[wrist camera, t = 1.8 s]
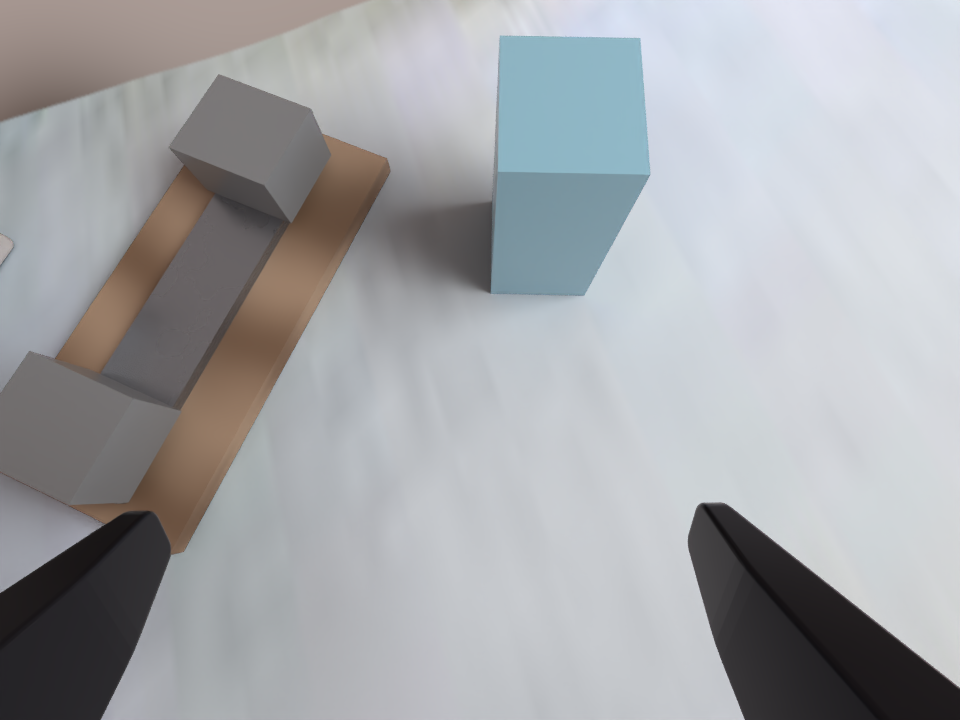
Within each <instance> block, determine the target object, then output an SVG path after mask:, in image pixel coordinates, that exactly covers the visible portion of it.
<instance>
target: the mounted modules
mask: <svg viewBox="0 0 960 720" xmlns="http://www.w3.org/2000/svg"><path fill="white" fill-rule="evenodd" d="M169 148H170V149H171V151H172V152H173V153H174V154H175V155H176V156H177V157H178V158H179V159H180V160H181V162H182V163H183V164H184V165H185V166H186V167H187V168H188V169H189V170H190V171H191V173H192V174H193V175H194V176H195V177H196V178H197V179H198V180H199V181H200V182H201V184H202V185H203V186H204V187H205V188H206V189H207V190H209V191H211V192H214V193H216V194H219V195H221V196H224V197H226V198H229V199H231V200H234V201H236V202H239V203H241V204H244V205H246V206H249V207H251V208H254V209H256V210H259V211H261V212H264V213H266V214H269V215H271V216H273V217H276V218H278V219H281V220H283V221H286V222H288V223H292V222H293V220H294V218H295V217H296V215H297V213H298V211H299V210H300V208H301V206H302V205H303V203H304V201H305V199H306V198H307V196H308V194H309V193H310V191H311V189H312V188H313V186H314V184H315V182H316V181H317V179H318V177H319V176H320V174H321V172H322V170H323V169H324V167H325V165H326V164H327V162H328V160H329V158H330V157H331V153H330V151H329V149H328V146H327V144H326V142H325V139H324V137H323V135H322V133H321V130H320V128H319V126H318V124H317V121H316V119H315V117H314V115H313V112H312V110H311V109H310V108H307V107H305V106H302V105H299V104H297V103H294V102H291V101H289V100H286V99H283V98H281V97H278V96H275V95H273V94H270V93H267V92H265V91H262V90H259V89H257V88H254V87H251V86H249V85H246V84H243V83H241V82H238V81H235V80H233V79H230V78H227V77H225V76H222V75H219V74H218V76H217V77H216V79H215V80H214V82H213V83H212V85H211V86H210V87H209V89H208V90H207V92H206V93H205V95H204V96H203V98H202V99H201V101H200V102H199V104H198V105H197V106H196V108H195V109H194V111H193V112H192V114H191V115H190V117H189V118H188V120H187V121H186V123H185V124H184V126H183V127H182V128H181V130H180V131H179V133H178V134H177V136H176V137H175V139H174V140H173V142H172V143H171V145H170V146H169ZM181 412H182V411H180V410H178V409H176V408H174V407H172V406H169V405H167V404H165V403H163V402H161V401H159V400H156V399H154V398H152V397H150V396H148V395H145V394H143V393H141V392H139V391H137V390H134V389H132V388H130V387H128V386H126V385H123V384H121V383H119V382H117V381H115V380H112V379H110V378H108V377H106V376H104V375H101V374H99V373H97V372H95V371H93V370H90V369H87V368H83V367H80V366H77V365H74V364H70V363H67V362H64V361H60V360H57V359H54V358H51V357H47V356H44V355H41V354H37V353H34V352H31V351H29V353H28V354H27V355H26V357H25V358H24V360H23V361H22V363H21V364H20V366H19V367H18V369H17V370H16V372H15V373H14V374H13V376H12V377H11V379H10V380H9V382H8V383H7V385H6V386H5V388H4V389H3V391H2V392H1V394H0V472H2V473H4V474H6V475H8V476H10V477H12V478H14V479H16V480H18V481H20V482H22V483H24V484H26V485H28V486H30V487H32V488H34V489H36V490H38V491H41V492H43V493H45V494H47V495H49V496H51V497H53V498H55V499H57V500H59V501H61V502H63V503H65V504H67V505H82V504H106V503H129V501H130V499H131V498H132V496H133V494H134V492H135V491H136V489H137V487H138V486H139V484H140V482H141V480H142V479H143V477H144V475H145V474H146V472H147V470H148V468H149V467H150V465H151V463H152V462H153V460H154V458H155V456H156V455H157V453H158V451H159V450H160V448H161V446H162V444H163V443H164V441H165V439H166V438H167V436H168V434H169V432H170V431H171V429H172V427H173V426H174V424H175V422H176V420H177V419H178V417H179V415H180V414H181Z"/></svg>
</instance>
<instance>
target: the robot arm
mask: <svg viewBox="0 0 960 720" xmlns="http://www.w3.org/2000/svg"><path fill="white" fill-rule="evenodd" d="M688 548H689V553H690V556H691V560H692V563H693V567H694V571H695V574H696V578H697V581H698V585H699V588H700V592H701V596H702V599H703V603H704V606H705V610H706V614H707V617H708V621H709V624H710V628H711V631H712V634H713V638H714V641H715V644H716V647H717V649H718V652H719V655H720V658H721V660H722V663H723V665H724V668H725V671H726V673H727V676H728V678H729V681H730V683H731V686H732V688H733V691H734V693H735V696H736V698H737V701H738V704H739V706H740V709H741V711H742V714H743V716H744V719H745V720H960V688H959V687H958V686H957V685H956V684H954V683H953V682H952V681H951V680H949V679H948V678H947V677H945V676H944V675H943V674H942V673H940V672H939V671H938V670H937V669H935V668H934V667H933V666H932V665H930V664H929V663H928V662H926V661H925V660H924V659H923V658H921V657H920V656H919V655H918V654H916V653H915V652H914V651H913V650H911V649H910V648H909V647H907V646H906V645H905V644H904V643H902V642H901V641H900V640H899V639H897V638H896V637H895V636H894V635H892V634H891V633H890V632H888V631H887V630H886V629H885V628H883V627H882V626H881V625H880V624H878V623H877V622H876V621H875V620H873V619H872V618H871V617H869V616H868V615H867V614H866V613H864V612H863V611H862V610H861V609H859V608H858V607H857V606H856V605H854V604H853V603H852V602H850V601H849V600H848V599H847V598H845V597H844V596H843V595H842V594H840V593H839V592H838V591H837V590H835V589H834V588H833V587H831V586H830V585H829V584H828V583H826V582H825V581H824V580H823V579H821V578H820V577H819V576H818V575H816V574H815V573H814V572H812V571H811V570H810V569H809V568H807V567H806V566H805V565H804V564H802V563H801V562H800V561H799V560H797V559H796V558H795V557H793V556H792V555H791V554H790V553H788V552H787V551H786V550H785V549H783V548H782V547H781V546H780V545H778V544H777V543H776V542H774V541H773V540H772V539H771V538H769V537H768V536H767V535H766V534H764V533H763V532H762V531H761V530H759V529H758V528H757V527H755V526H754V525H753V524H752V523H750V522H749V521H748V520H747V519H745V518H744V517H743V516H742V515H740V514H739V513H738V512H736V511H735V510H734V509H733V508H731V507H730V506H729V505H727V504H725V503H700V504H699V505H698V506H697V508H696V511H695V514H694V518H693V521H692V525H691V528H690V531H689V535H688ZM170 555H171V543H170V541H169V539H168V536H167V534H166V532H165V530H164V528H163V526H162V524H161V522H160V520H159V518H158V516H157V514H156V513H154V512H153V511H127V512H124V513H122V514H121V515H119V516H117V517H116V518H114V519H113V520H111V521H110V522H108V523H107V524H105V525H104V526H102V527H101V528H99V529H98V530H96V531H94V532H93V533H91V534H90V535H88V536H87V537H85V538H84V539H82V540H81V541H79V542H78V543H76V544H75V545H73V546H72V547H70V548H69V549H67V550H65V551H64V552H62V553H61V554H59V555H58V556H56V557H55V558H53V559H52V560H50V561H49V562H47V563H46V564H44V565H43V566H41V567H39V568H38V569H36V570H35V571H33V572H32V573H30V574H29V575H27V576H26V577H24V578H23V579H21V580H20V581H18V582H17V583H15V584H14V585H12V586H10V587H9V588H7V589H6V590H4V591H3V592H1V593H0V720H101V718H102V716H103V714H104V712H105V710H106V708H107V706H108V704H109V702H110V700H111V698H112V696H113V694H114V692H115V690H116V688H117V686H118V684H119V682H120V680H121V678H122V675H123V673H124V671H125V669H126V667H127V665H128V663H129V661H130V659H131V657H132V654H133V652H134V650H135V647H136V645H137V643H138V640H139V638H140V635H141V633H142V630H143V628H144V625H145V622H146V620H147V617H148V614H149V612H150V609H151V607H152V604H153V601H154V599H155V596H156V593H157V591H158V588H159V586H160V583H161V580H162V578H163V575H164V572H165V570H166V567H167V565H168V562H169V559H170Z"/></svg>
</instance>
